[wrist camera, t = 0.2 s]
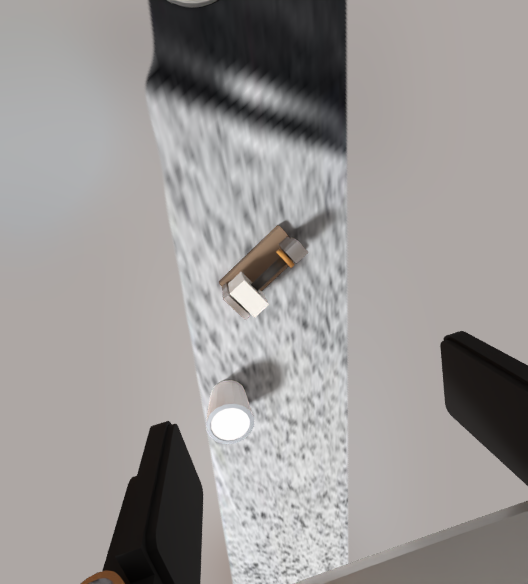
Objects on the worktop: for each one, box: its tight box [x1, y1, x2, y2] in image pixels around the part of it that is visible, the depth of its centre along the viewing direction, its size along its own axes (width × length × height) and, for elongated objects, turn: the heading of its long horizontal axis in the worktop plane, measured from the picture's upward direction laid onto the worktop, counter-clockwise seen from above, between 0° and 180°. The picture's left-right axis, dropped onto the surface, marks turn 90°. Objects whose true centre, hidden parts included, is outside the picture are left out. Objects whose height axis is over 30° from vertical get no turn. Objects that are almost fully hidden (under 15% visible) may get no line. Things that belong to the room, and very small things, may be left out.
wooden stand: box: [219, 225, 308, 320], centre depth 43 cm, size 5×12×8 cm, turn 133°
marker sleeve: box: [228, 272, 269, 317], centre depth 41 cm, size 4×2×4 cm, turn 43°
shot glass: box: [206, 380, 254, 444], centre depth 49 cm, size 7×7×7 cm
